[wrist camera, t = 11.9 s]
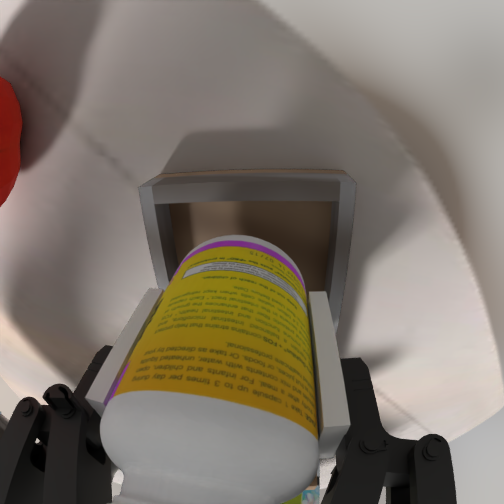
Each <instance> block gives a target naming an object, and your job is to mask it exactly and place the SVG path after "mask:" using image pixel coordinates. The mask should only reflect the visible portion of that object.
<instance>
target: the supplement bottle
mask: <svg viewBox="0 0 504 504" xmlns="http://www.w3.org/2000/svg"><path fill="white" fill-rule="evenodd" d="M100 437H101V441H102V444H103V447H104V449H105V451H106V453H107V455H108V456H109V458H110V459H111V461H112V462H113V463H114V464H115V465H116V466H117V467H118V468H119V469H120V470H121V471H122V472H123V474H124V480H123V483H122V487H121V492H120V495H118V496H114V497H113V502H112V503H107V504H281V503H284V502H287V501H289V500H291V499H293V498H295V497H296V496H298V495H299V494H301V493H302V492H303V491H304V490H305V489H307V488H308V486H309V485H310V484H311V483H312V481H313V480H314V478H315V476H316V473H317V471H318V467H319V440H318V423H317V408H316V394H315V381H314V368H313V357H312V346H311V335H310V325H309V315H308V306H307V297H306V290H305V284H304V281H303V278H302V275H301V273H300V271H299V269H298V267H297V266H296V264H295V263H294V262H293V260H292V259H291V258H290V257H289V256H288V255H287V254H286V253H285V252H283V251H282V250H281V249H279V248H278V247H276V246H275V245H273V244H271V243H269V242H267V241H264V240H262V239H259V238H255V237H252V236H246V235H227V236H221V237H216V238H213V239H210V240H208V241H205V242H203V243H202V244H200V245H198V246H197V247H195V248H194V249H193V250H192V251H190V252H189V253H188V254H187V256H186V257H185V258H184V259H183V261H182V262H181V264H180V266H179V267H178V269H177V270H176V272H175V274H174V276H173V277H172V279H171V281H170V283H169V285H168V286H167V288H166V290H165V292H164V293H163V295H162V297H161V299H160V301H159V303H158V305H157V306H156V308H155V310H154V312H153V314H152V316H151V318H150V320H149V321H148V323H147V325H146V327H145V329H144V331H143V333H142V335H141V337H140V339H139V341H138V343H137V345H136V347H135V349H134V350H133V352H132V354H131V356H130V358H129V360H128V362H127V364H126V366H125V368H124V370H123V372H122V374H121V376H120V379H119V381H118V383H117V385H116V387H115V389H114V391H113V393H112V395H111V397H110V399H109V402H108V404H107V406H106V408H105V410H104V413H103V416H102V419H101V423H100Z"/></svg>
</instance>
